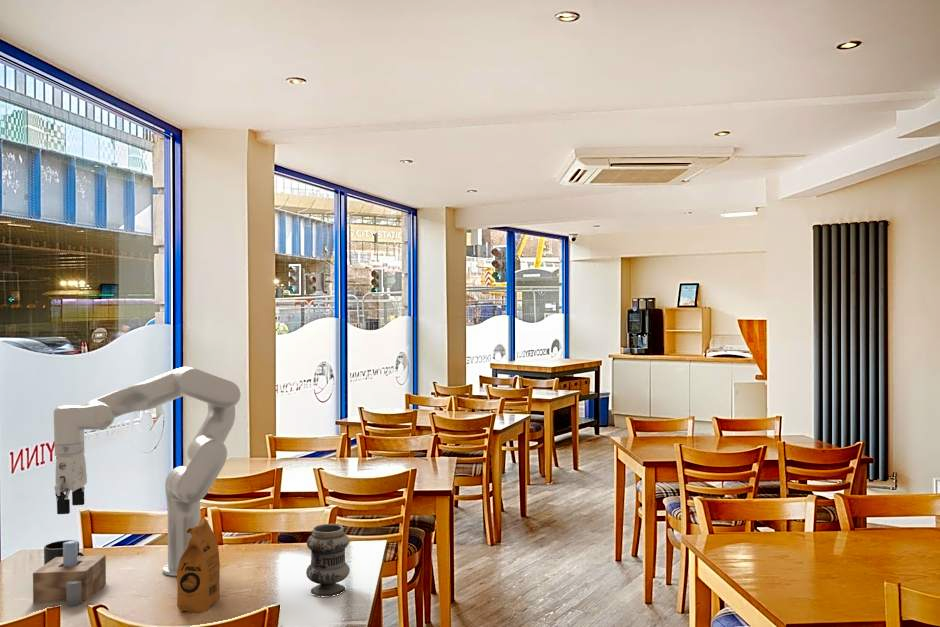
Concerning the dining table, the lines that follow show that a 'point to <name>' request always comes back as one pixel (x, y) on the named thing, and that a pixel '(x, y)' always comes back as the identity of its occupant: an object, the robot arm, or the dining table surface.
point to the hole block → (68, 578)
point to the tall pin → (70, 554)
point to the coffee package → (199, 571)
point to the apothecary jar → (327, 559)
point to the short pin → (73, 593)
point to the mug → (56, 550)
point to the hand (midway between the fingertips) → (71, 509)
